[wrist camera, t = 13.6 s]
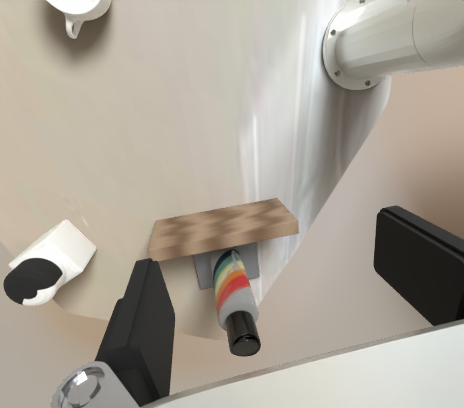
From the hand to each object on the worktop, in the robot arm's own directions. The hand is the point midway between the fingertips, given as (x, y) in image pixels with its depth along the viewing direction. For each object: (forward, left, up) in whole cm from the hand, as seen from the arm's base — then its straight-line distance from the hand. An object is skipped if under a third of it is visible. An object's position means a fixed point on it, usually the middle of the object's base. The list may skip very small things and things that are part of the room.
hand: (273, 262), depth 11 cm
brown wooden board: (+9, +9, -34) cm, 36 cm away
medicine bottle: (+30, -7, -34) cm, 46 cm away
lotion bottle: (+14, +16, -33) cm, 40 cm away
